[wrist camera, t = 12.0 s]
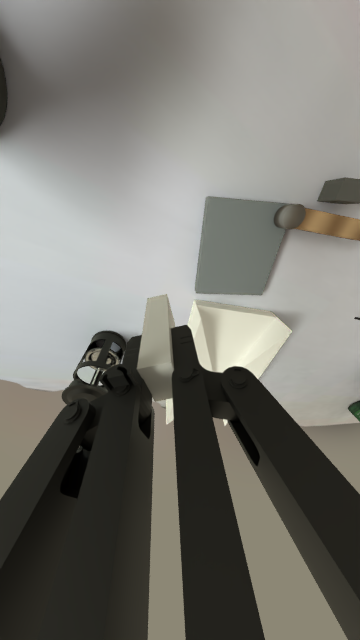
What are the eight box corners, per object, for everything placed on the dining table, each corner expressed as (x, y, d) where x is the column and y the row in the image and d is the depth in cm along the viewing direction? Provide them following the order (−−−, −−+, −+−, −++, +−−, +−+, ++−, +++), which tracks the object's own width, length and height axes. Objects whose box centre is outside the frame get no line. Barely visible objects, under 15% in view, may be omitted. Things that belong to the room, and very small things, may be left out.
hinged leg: (270, 226, 31) (280, 227, 29) (279, 203, 30) (290, 202, 27) (348, 240, 34) (363, 243, 31) (361, 220, 32) (378, 221, 30)
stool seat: (205, 197, 30) (208, 196, 28) (286, 204, 32) (294, 204, 30) (194, 289, 40) (196, 293, 38) (256, 291, 42) (261, 295, 40)
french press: (95, 324, 44) (41, 413, 24) (130, 334, 46) (107, 421, 27) (88, 354, 49) (39, 446, 30) (120, 362, 52) (94, 450, 33)
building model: (218, 401, 70) (224, 426, 62) (166, 399, 66) (166, 425, 58) (270, 310, 46) (292, 331, 38) (194, 298, 42) (201, 318, 34)
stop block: (325, 181, 31) (345, 177, 27) (354, 184, 31) (377, 181, 28) (317, 201, 32) (334, 200, 29) (344, 203, 33) (365, 203, 29)
